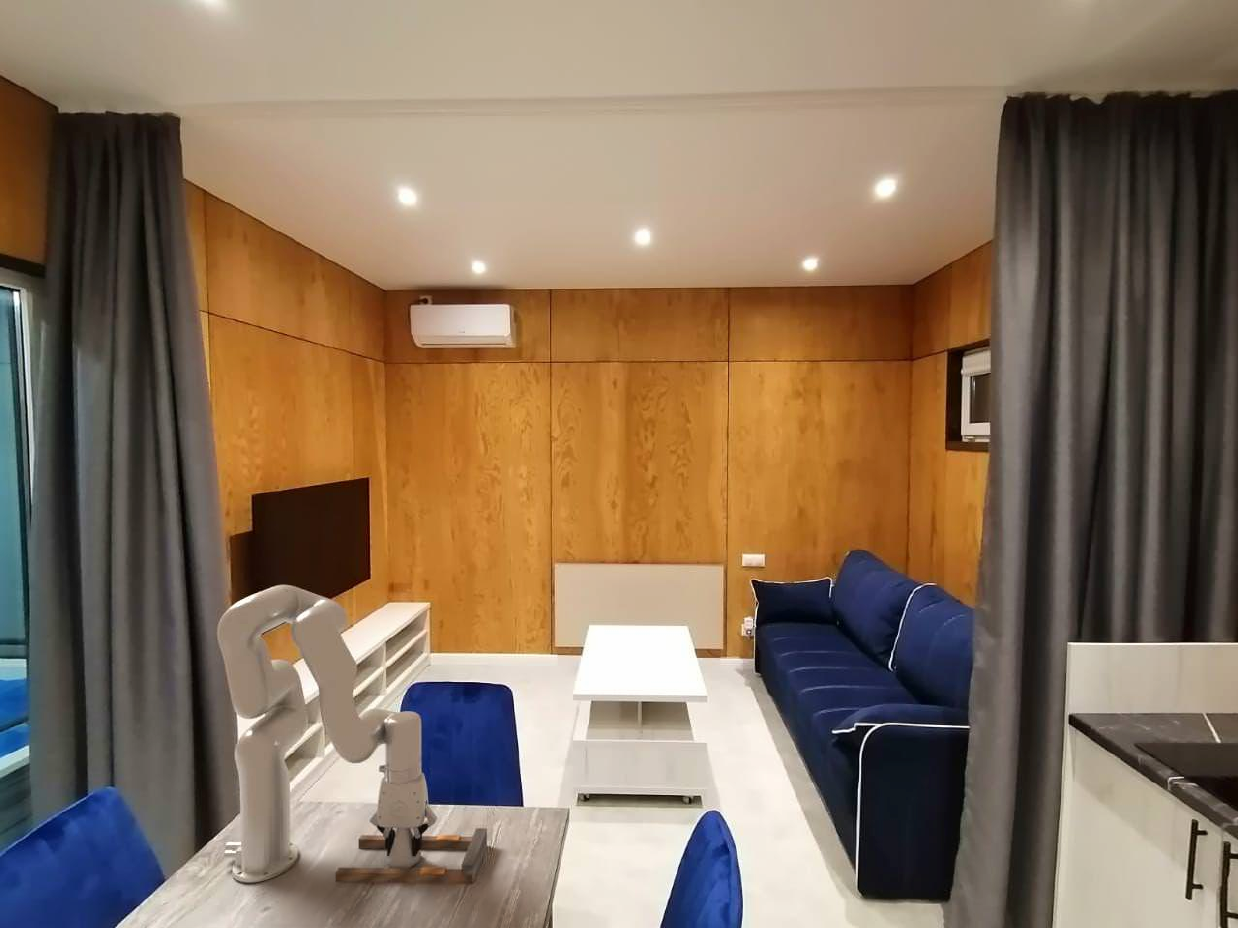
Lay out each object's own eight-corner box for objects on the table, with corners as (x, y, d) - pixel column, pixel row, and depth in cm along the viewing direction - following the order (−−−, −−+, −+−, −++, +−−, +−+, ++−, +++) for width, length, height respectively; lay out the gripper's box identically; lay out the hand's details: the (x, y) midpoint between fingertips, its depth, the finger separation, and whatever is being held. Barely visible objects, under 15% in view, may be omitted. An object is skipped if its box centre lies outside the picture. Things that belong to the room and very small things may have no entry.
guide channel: (335, 881, 129) (335, 862, 129) (361, 843, 142) (361, 826, 142) (473, 883, 129) (473, 864, 128) (487, 845, 141) (487, 828, 141)
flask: (409, 873, 131) (409, 827, 131) (379, 868, 132) (379, 823, 132) (427, 851, 138) (426, 808, 138) (397, 847, 139) (397, 804, 139)
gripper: (357, 779, 131) (358, 863, 131) (436, 780, 131) (436, 864, 131) (372, 761, 139) (372, 841, 139) (446, 762, 138) (447, 841, 139)
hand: (403, 851), depth 135 cm, fingers closed on flask, 4 cm apart
